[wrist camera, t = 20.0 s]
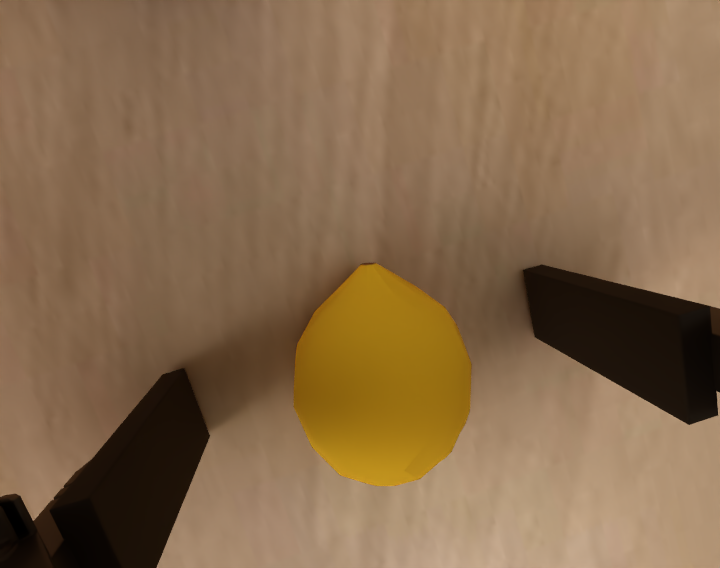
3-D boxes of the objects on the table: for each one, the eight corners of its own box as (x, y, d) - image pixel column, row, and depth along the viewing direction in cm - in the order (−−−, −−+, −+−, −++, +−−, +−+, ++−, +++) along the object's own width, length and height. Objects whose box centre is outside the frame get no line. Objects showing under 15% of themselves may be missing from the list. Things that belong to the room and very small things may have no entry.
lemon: (441, 421, 16) (507, 526, 11) (303, 442, 16) (304, 563, 10) (433, 244, 15) (505, 267, 10) (281, 259, 14) (269, 293, 9)
